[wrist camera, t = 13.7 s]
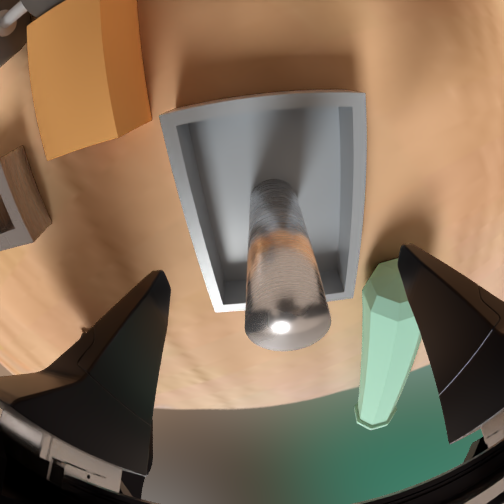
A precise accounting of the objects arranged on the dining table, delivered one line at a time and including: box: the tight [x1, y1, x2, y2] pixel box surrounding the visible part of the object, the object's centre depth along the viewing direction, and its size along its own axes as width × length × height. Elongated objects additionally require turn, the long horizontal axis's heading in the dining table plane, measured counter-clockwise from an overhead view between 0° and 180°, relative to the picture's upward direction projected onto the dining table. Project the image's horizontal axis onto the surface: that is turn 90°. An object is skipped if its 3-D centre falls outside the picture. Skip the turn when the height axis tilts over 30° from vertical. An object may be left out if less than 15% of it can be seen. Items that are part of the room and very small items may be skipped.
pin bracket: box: [0, 146, 52, 251], centre depth 12 cm, size 6×6×2 cm
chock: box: [27, 0, 152, 161], centre depth 8 cm, size 7×4×4 cm, turn 5°
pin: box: [245, 179, 331, 351], centre depth 11 cm, size 2×2×8 cm
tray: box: [159, 89, 367, 312], centre depth 13 cm, size 11×8×2 cm
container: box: [354, 258, 422, 430], centre depth 21 cm, size 6×6×25 cm
